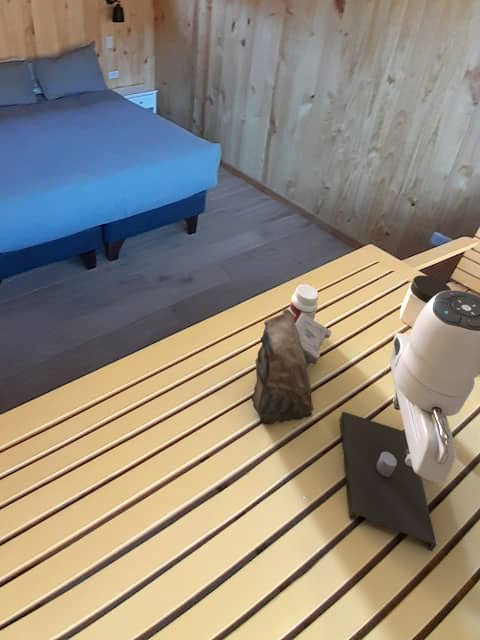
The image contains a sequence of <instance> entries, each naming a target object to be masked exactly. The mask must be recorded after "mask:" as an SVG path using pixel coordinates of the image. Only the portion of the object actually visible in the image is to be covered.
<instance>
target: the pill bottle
mask: <svg viewBox="0 0 480 640" xmlns="http://www.w3.org/2000/svg"><path fill="white" fill-rule="evenodd" d="M318 299H319V292H318V290H317V289H316V288H315V287H314V286H311V285H309V284H299V285H297V287H296V289H295V292H294V293H293V294H292V296H291V300H290V303H289V307H288V310H289V311H290V312H291V314H292V316H293V319H294V322H295V323H296V322H297V320H298V318H299V317H300V315H301V314H305V315H306V316H308V317H309V318H311V319H313V320H314V321H315V318H316V314H317V310H318V307H319V303H318V301H319V300H318Z"/></svg>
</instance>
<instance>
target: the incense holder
mask: <svg viewBox="0 0 480 640" xmlns="http://www.w3.org/2000/svg"><path fill="white" fill-rule="evenodd" d="M295 325H296V327H297V330H298V334H299V337H300V341H301V344H302V347H303V350H304V354H305V359H306V365H307V369H308V370H309V368H310V366H311V365H314V366H315V365H316V364H317V363H318V361H319V359H320V357H321V355H320V351H319V350H320V348H321V346H322V345H323V342H324V340H325V339H329V338H330V337H331V335H332V331H331V330H330V329H329V328H327V327H326V326H324V325H323V324H321V323H319V322H318V321H316V320H315V319H314V320H313V319H311V318H309V317H308V316H306V315H305V314H301V315H300V317H299V318H298V320H297V322H296V323H295Z"/></svg>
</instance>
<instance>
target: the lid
mask: <svg viewBox="0 0 480 640" xmlns="http://www.w3.org/2000/svg"><path fill="white" fill-rule="evenodd" d="M339 422H341V424H340V434H341V433H342V435H341V445H342V455H344V457H343V467H345V468H344V477H345V487H346V488H347V489H346V488H345V489H346V499H347V500H346V501H347V510H349V511H348V519H349V520H353V519H354V517H355V515H357V516H359V517H362V518H365V519H367V520H369V521H371V522H375V523H377V524H379V525H382V526H384V527H387V528H390V529H392V530H395V531H397V532H399V533H402V534H405V535H407V536H410V537H412V538H415V539H416V540H419V541H422V542H425V543H426V545H427V550H428V552H433V551H434V550H435V549H436V547H437V546H438V543H437V540H436V535H435V531H434V527H433V522H432V518H431V513H430V510H429V506H428V501H427V496H426V493H425V488H424V484H423V480H422V477H421V476H419V475H418V474H416V473H415V472H414V470H413V467H411V466H409V465H407V464H406V462H405V457H404V453H405V451H406V449H408V450H409V448H408V443H407V438H406V434H405V430H402V429H399V428H396V427H392V426H389V425H387V424H383V423H381V422H377V421H374V420H370V419H367V418H364V417H362V416H359V415H356V414H353V413H350V412H346V411H342V412H341V415H340V417H339Z"/></svg>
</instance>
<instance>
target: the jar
mask: <svg viewBox="0 0 480 640" xmlns="http://www.w3.org/2000/svg"><path fill="white" fill-rule="evenodd" d="M449 290H452V288H451V287H450V286H449V285H448V284H447V283H445V282H444V281H443V280H440V279H438V278H436V277H434V276H431V275H425V274H423V275H422V274H421V275H416V276H415V277H414V278H413V279H412V282H411V283H410V284H409V286H408V289H407V292H406V293H405V297H404V299H403V301H402V303H401V306H400V312H399V320H400V321H402V322H403V323H404V324H406V325H407V326H408V327H410V328H411V329H412V328H413V326H414V324H415V321H416V319H417V318H418V316H419V314H420V312H421V311H422V309H423V308H424V307H425V305H426V304H427V303H428V302H429V301H430V300H431V299H432V298H433V297H434V296H435V295H437V294H438V293H440V292H443V291H449Z"/></svg>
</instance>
